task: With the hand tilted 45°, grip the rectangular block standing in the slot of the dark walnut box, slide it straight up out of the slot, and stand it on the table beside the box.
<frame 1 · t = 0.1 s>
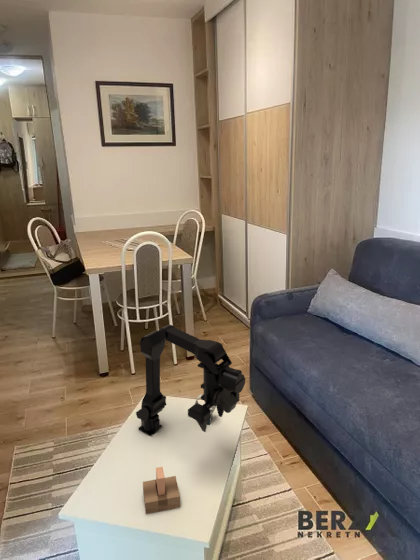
hand: (212, 423, 132), 15 cm above the table, tool pointing down, fingers open, 9 cm apart
watch: (205, 420, 157), on the table
slot box: (161, 499, 122), on the table
rectangular block: (160, 486, 120), in the slot box
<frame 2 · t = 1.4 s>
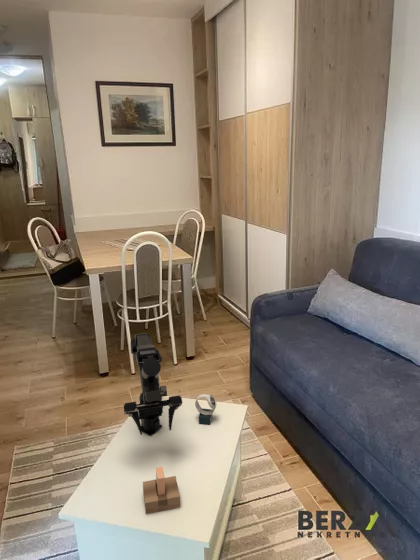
hand: (155, 432, 130), 13 cm above the table, tool tilted 45°, fingers open, 9 cm apart
nothing on the table moved.
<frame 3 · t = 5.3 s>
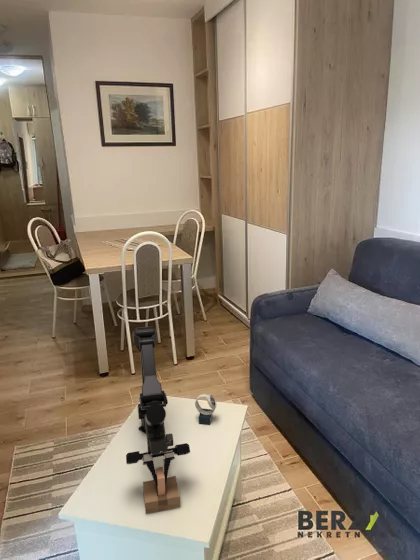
hand: (161, 485, 118), 7 cm above the table, tool tilted 45°, fingers closed on rectangular block, 2 cm apart
rectangular block: (160, 486, 120), in the slot box, touching gripper
everything else where it was.
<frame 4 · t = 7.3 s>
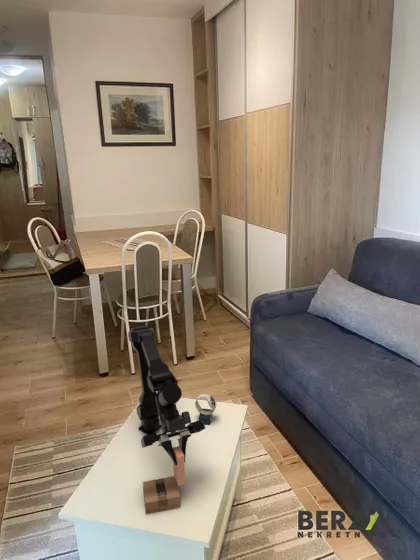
hand: (180, 464, 118), 13 cm above the table, tool tilted 45°, fingers closed on rectangular block
rectangular block: (178, 465, 120), point 11 cm above the table, touching gripper
everything else where it was.
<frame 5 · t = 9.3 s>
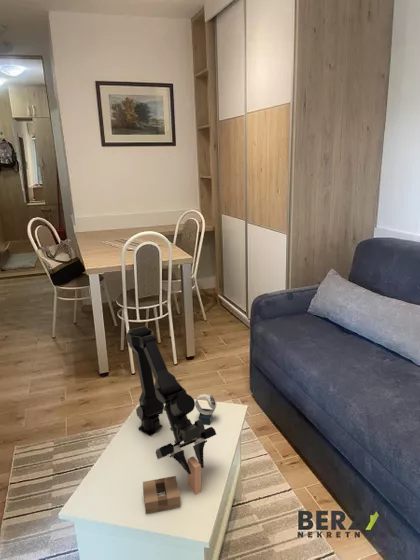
hand: (196, 471, 122), 8 cm above the table, tool tilted 45°, fingers open, 4 cm apart
rectangular block: (194, 475, 124), on the table
everything else where it was.
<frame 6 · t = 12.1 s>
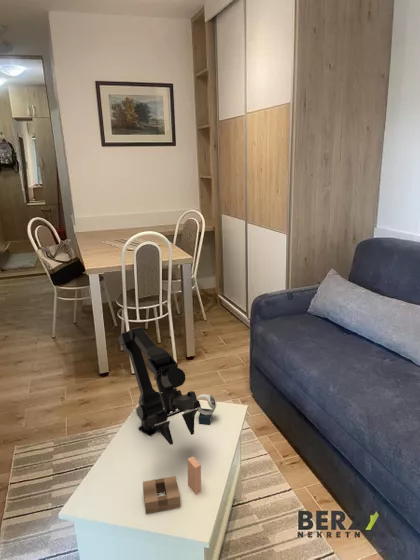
hand: (182, 439, 128), 13 cm above the table, tool tilted 35°, fingers open, 9 cm apart
nothing on the table moved.
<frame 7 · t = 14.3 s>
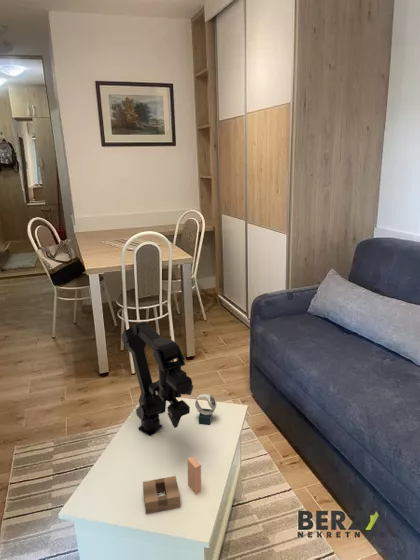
hand: (169, 419, 137), 13 cm above the table, tool pointing down, fingers open, 9 cm apart
nothing on the table moved.
at the end: rectangular block inside the target area (0.1 cm from its centre), on the table; rectangular block touching table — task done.
